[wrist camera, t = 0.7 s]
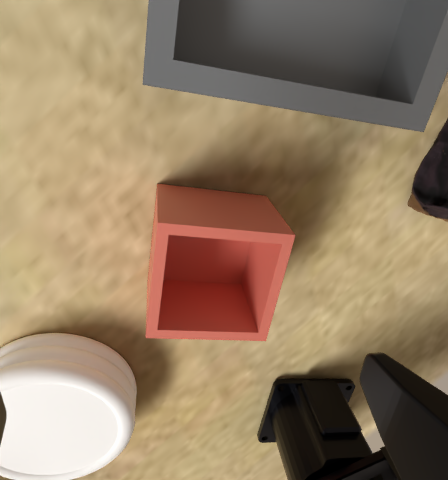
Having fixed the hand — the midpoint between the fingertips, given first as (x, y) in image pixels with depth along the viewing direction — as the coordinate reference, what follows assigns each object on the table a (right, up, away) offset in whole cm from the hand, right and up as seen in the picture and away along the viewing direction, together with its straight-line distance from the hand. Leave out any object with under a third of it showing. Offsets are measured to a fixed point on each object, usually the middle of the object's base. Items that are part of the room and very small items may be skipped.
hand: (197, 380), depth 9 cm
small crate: (0, +3, +12) cm, 13 cm away
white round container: (-10, -6, +16) cm, 20 cm away
